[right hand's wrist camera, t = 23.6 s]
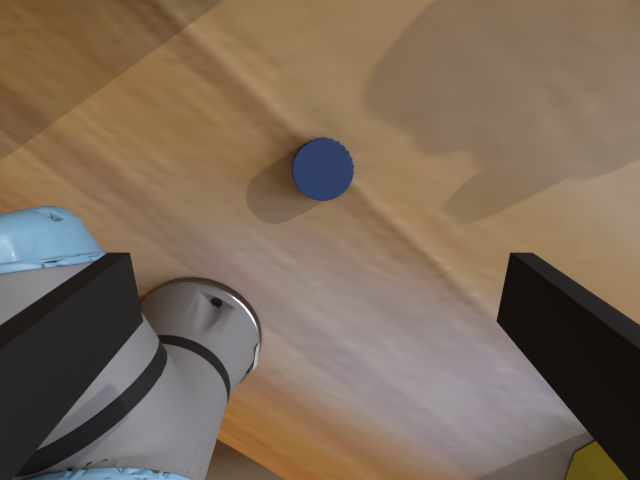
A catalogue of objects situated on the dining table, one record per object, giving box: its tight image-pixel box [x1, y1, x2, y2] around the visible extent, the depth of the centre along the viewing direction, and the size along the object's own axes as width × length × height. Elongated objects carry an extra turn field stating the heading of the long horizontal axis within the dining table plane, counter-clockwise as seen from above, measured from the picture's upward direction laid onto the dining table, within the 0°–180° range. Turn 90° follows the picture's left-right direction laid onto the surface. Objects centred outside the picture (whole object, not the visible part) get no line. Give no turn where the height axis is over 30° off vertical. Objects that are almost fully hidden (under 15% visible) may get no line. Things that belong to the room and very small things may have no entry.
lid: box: [292, 137, 354, 201], centre depth 36 cm, size 6×6×2 cm
